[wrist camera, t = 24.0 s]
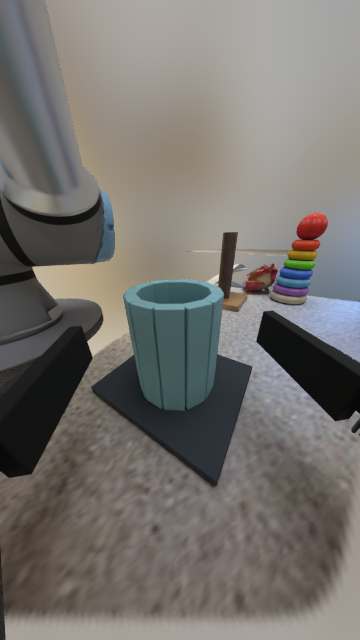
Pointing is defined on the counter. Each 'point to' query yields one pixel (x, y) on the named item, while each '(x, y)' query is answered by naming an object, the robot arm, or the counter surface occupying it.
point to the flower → (261, 278)
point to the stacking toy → (300, 262)
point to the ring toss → (229, 273)
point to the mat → (183, 414)
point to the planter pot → (175, 339)
